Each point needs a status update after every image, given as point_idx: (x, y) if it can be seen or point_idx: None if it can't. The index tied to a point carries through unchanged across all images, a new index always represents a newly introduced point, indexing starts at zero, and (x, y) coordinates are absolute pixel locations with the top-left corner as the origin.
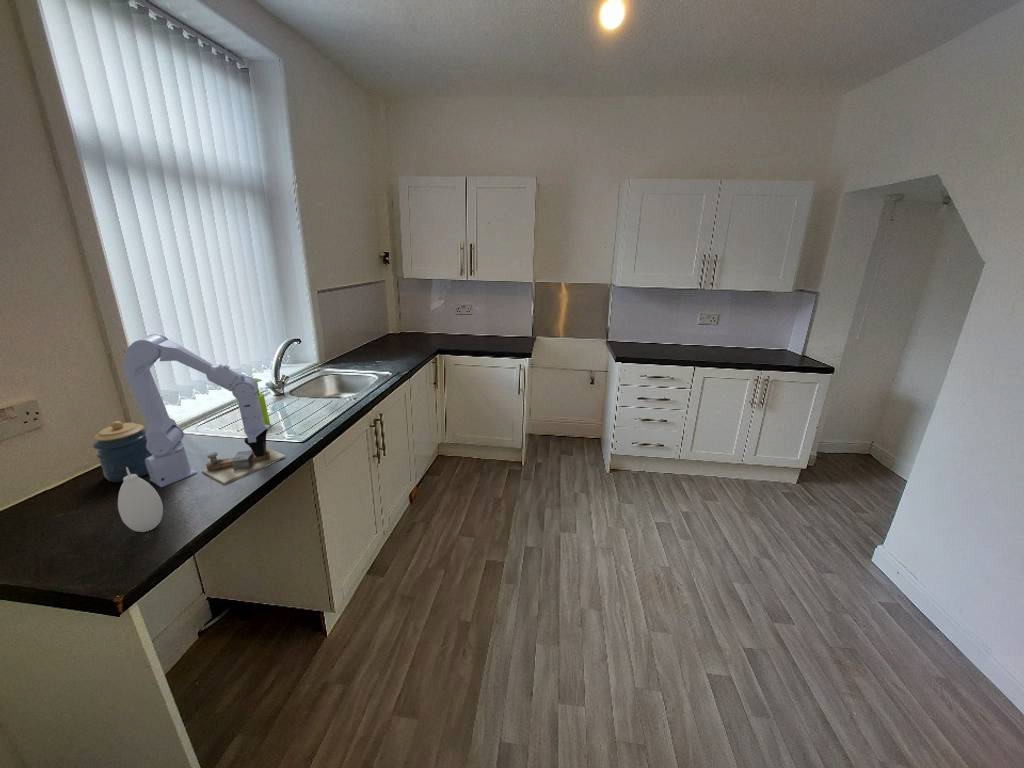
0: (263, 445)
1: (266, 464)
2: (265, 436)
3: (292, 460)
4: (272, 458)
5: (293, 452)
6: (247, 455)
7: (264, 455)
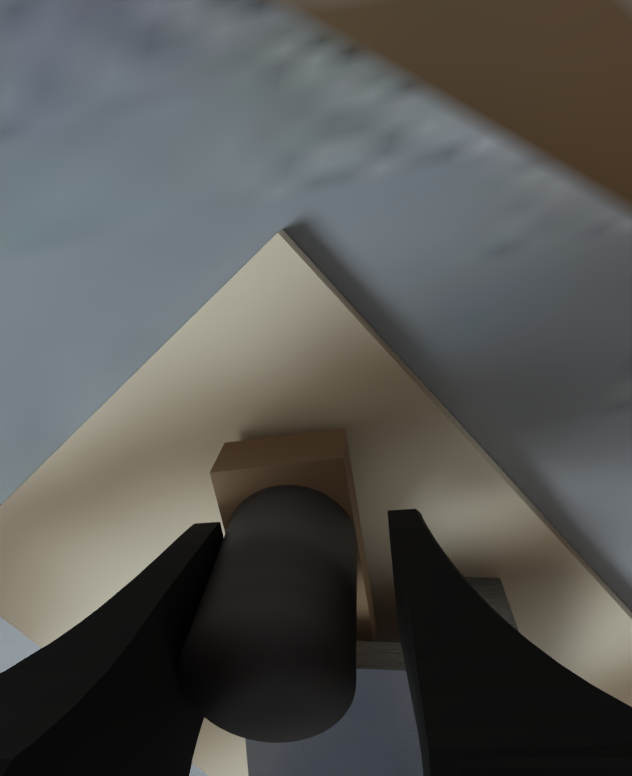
0: (438, 605)
1: (456, 427)
2: (113, 670)
3: (405, 105)
4: (322, 390)
5: (134, 152)
6: (404, 698)
7: (348, 497)
